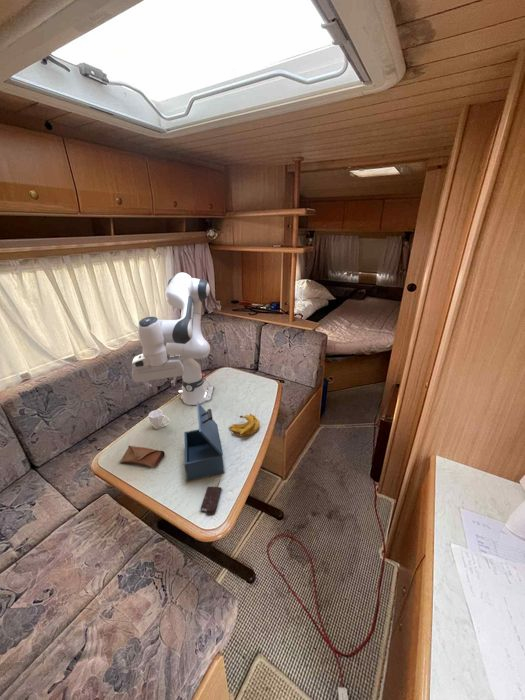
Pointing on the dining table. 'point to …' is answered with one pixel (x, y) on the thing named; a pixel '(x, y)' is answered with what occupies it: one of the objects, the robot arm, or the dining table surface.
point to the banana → (246, 426)
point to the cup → (157, 418)
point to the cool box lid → (209, 428)
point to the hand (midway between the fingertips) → (162, 386)
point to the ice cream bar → (211, 498)
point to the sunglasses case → (143, 456)
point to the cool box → (200, 456)
